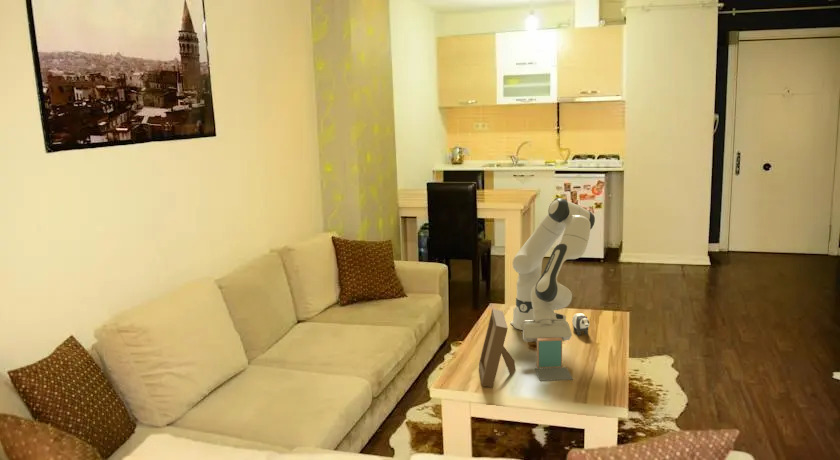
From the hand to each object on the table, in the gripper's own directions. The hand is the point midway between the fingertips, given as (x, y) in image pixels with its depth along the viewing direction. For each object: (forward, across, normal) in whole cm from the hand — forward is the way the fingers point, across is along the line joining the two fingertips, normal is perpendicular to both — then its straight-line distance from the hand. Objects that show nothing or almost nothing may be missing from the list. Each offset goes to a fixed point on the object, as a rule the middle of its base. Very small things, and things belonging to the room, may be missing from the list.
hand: (549, 349), depth 287 cm
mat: (+12, 0, -3) cm, 12 cm away
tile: (+6, 0, +3) cm, 7 cm away
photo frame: (+12, -23, -3) cm, 26 cm away
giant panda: (-21, +23, +31) cm, 44 cm away
